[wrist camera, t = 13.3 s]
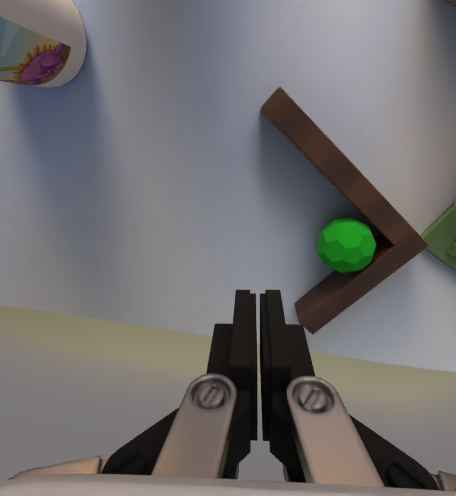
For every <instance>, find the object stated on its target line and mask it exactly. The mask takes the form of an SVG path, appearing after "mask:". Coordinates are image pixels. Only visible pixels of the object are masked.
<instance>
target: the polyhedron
mask: <svg viewBox="0 0 456 496" xmlns="http://www.w3.org/2000/svg"><path fill="white" fill-rule="evenodd" d="M316 247H317V250H318V254H319V256H320V258H321V260H322V262H323V264H325V265H327V266H329V267H330V268H332V269H334V270H337V271H339V272H341V273H344V272H351V271H357V270H362V269H363V268H364V267H365V266H367V265H368V264H369V263H370V262H371V260H372V257H373V255H374V251H375V248H376V242H375V240H374V237H373V235H372V233H371V231H370V229H369V226H368V225H367V224H365V223H362V222H360V221H358V220H356V219H353V218H350V217H343V218H338V219H334V220H332V221H330V222H329V223H328V224H327V225H326V226H325V227H324V228H322V230H321V231H320V233H319V235H318V239H317V244H316Z"/></svg>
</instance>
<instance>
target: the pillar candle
mask: <svg viewBox="0 0 456 496" xmlns="http://www.w3.org/2000/svg"><path fill="white" fill-rule="evenodd" d="M447 1H448V2H450V3H451V4H452V5H454V6H456V0H447Z"/></svg>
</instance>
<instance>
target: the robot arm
mask: <svg viewBox="0 0 456 496" xmlns="http://www.w3.org/2000/svg"><path fill="white" fill-rule="evenodd" d="M260 374H261V400H262V401H261V402H262V429H263V430H262V431H263V441H270V453H272V454H273V455H274V456H275V457H276V458H277V459H278V460H279V461H280V462H281V463H282V464H283V472H284V478H285V482H278V481H257V480H237V477H238V472H239V462H240V461H241V460H243V459H244V458H245V457H246V456H247V455H248V454H249V453H250V440H257V331H256V294H250V290H236V295H235V307H234V318H233V324H215V327H214V332H213V338H212V344H211V350H210V356H209V362H208V367H207V374H205V375H202V376H200V377H198V378H196V379H195V380H194V381H193V382H191V384H190V385H189V387H188V388H187V390H186V393H185V395H184V398H183V400H182V403H181V405H180V407H179V408H178V409H176V410H175V411H173V412H172V413H170V414H169V415H167V416H166V417H165V418H163V419H162V420H160V421H159V422H157V423H156V424H155V425H153V426H151V427H150V428H149V429H147V430H146V431H144V432H143V433H142V434H140V435H138V436H137V437H135V438H134V439H133V440H131V441H130V442H129V443H127V444H125V445H124V446H122V447H121V448H120V449H118V450H117V451H116V452H115V453H114V454H113V455H111V457H110V458H108V459H103V460H102V459H101V456H95V457H90V458H85V459H79V460H74V461H69V462H64V463H59V464H53V465H48V466H42V467H37V468H32V469H28V470H25V471H22V472H19V473H18V474H16V475H14V476H13V477H11V478H10V479H8V480H6V481H2V482H0V496H456V475H453V474H449V473H446V472H442V471H439V472H438V475H435V474H431V473H429V472H428V471H427V470H426V469H425V468H424V467H423V466H422V465H420V464H419V463H418V462H417V461H415V460H414V459H413V458H411V457H410V456H408V455H407V454H405V453H404V452H402V451H401V450H399V449H398V448H397V447H395V446H394V445H392V444H391V443H389V442H388V441H387V440H385V439H383V438H382V437H381V436H379V435H378V434H376V433H375V432H374V431H372V430H371V429H369V428H368V427H366V426H365V425H364V424H362V423H361V422H359V421H358V420H356V419H355V418H353V417H352V416H351V415H349V414H348V412H347V410H346V408H345V406H344V404H343V402H342V400H341V398H340V396H339V394H338V392H337V391H336V389H335V388H334V386H332V385H331V384H330V383H329V382H327V381H326V380H323V379H322V378H319V377H315V373H314V369H313V365H312V361H311V357H310V353H309V349H308V344H307V340H306V336H305V332H304V328H303V325H293V324H286V323H285V317H284V311H283V305H282V299H281V293H280V290H266V292H265V294H260Z"/></svg>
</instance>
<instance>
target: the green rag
mask: <svg viewBox="0 0 456 496" xmlns="http://www.w3.org/2000/svg"><path fill="white" fill-rule="evenodd" d="M421 237H422V238H423V240H424V241H425V242H426V243H427V244H428V245H429V246H428V247H426V249H427V250H428V251H430V252H431V253H432V254H434V255H435V256H436V257H438V258H439V259H440V260H442V261H443V262H444V263H445V264H447V265H448V266H449V267H451V268H452V269H453V270H455V271H456V202H455V203H454V204H453V205H452V206H451V207H450V208H449V209H448V210H447V211H446V212H445V213H444V214H443V215H442V216H441V217H440V218H439V219H438V220H437V221H436V222H435V223H434V224H433V225H432V226H431V227H429V228H428V229H427V230H426V231H425V232H424V233H423V234H422V235H421Z"/></svg>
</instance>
